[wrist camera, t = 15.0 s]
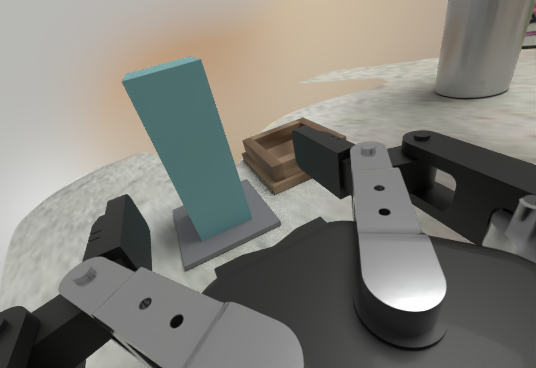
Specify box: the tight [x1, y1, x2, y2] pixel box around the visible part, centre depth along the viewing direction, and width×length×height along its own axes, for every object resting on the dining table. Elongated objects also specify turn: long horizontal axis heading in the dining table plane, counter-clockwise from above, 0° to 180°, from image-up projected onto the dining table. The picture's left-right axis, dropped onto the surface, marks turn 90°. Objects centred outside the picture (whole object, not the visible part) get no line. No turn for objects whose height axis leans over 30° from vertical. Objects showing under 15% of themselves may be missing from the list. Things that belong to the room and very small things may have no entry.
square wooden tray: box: [242, 118, 346, 194], centre depth 32 cm, size 10×10×3 cm
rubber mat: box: [173, 179, 281, 271], centre depth 26 cm, size 9×9×1 cm
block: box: [122, 57, 252, 241], centre depth 22 cm, size 5×5×14 cm
